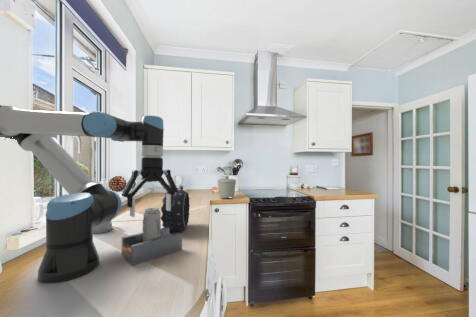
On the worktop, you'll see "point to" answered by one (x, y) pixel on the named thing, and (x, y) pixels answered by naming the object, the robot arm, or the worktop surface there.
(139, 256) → the channel
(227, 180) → the canister
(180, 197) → the black thick disc
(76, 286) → the worktop surface
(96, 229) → the engine component
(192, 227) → the worktop surface
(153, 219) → the energy drink can
